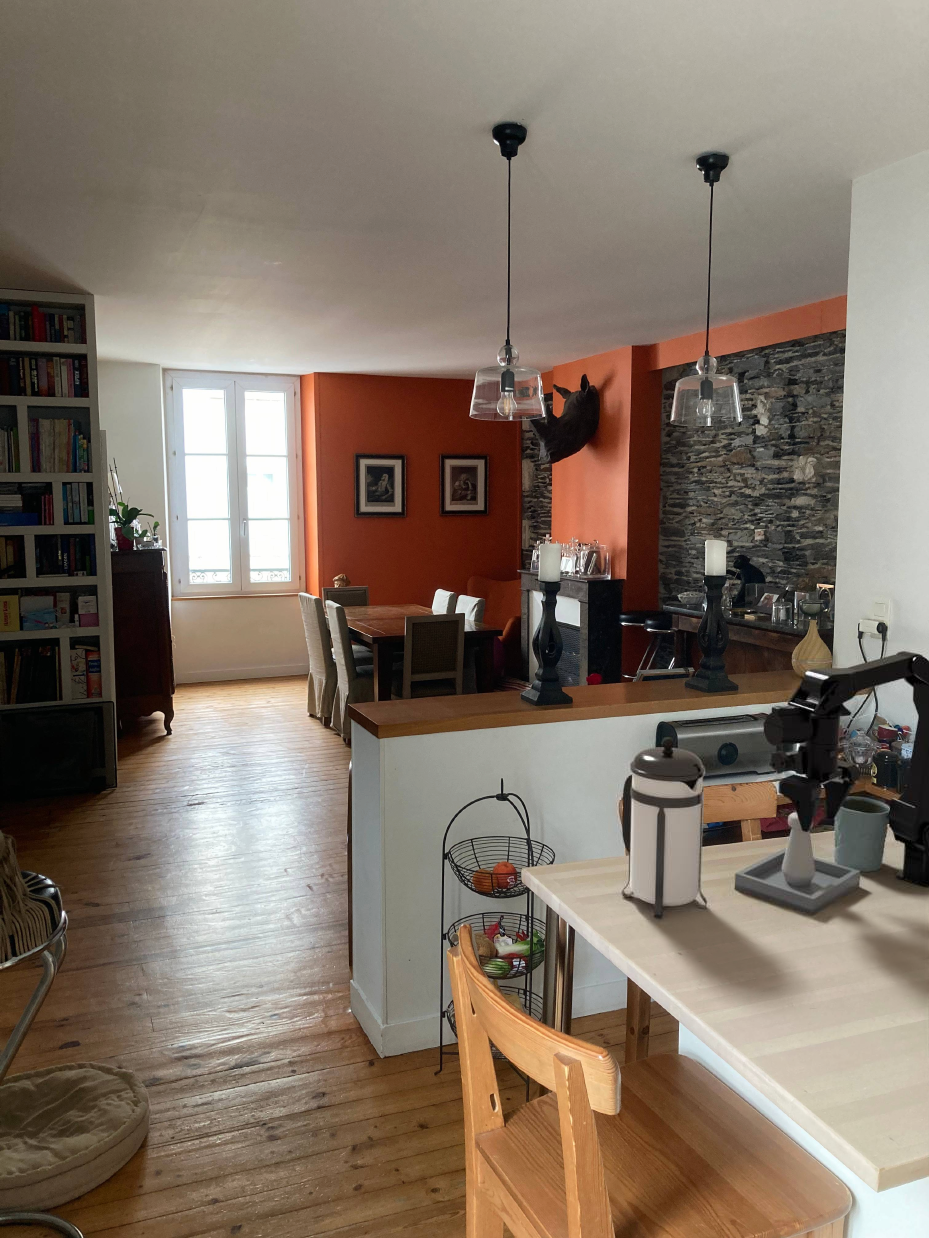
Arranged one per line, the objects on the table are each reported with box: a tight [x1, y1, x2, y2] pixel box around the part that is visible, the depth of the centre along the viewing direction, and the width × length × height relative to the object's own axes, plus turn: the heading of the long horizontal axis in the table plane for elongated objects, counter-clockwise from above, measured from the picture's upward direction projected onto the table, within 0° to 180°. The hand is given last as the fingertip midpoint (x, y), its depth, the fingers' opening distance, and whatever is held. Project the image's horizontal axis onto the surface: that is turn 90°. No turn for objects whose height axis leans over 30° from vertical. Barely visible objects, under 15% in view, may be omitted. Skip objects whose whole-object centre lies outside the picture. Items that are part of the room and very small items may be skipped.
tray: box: [734, 848, 861, 916], centre depth 168 cm, size 18×15×3 cm
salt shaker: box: [782, 811, 815, 887], centre depth 167 cm, size 6×6×13 cm
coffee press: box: [621, 736, 708, 919], centre depth 162 cm, size 17×16×30 cm
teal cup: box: [833, 796, 890, 873], centre depth 179 cm, size 10×10×12 cm
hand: (818, 825), depth 164 cm, fingers open, 9 cm apart
